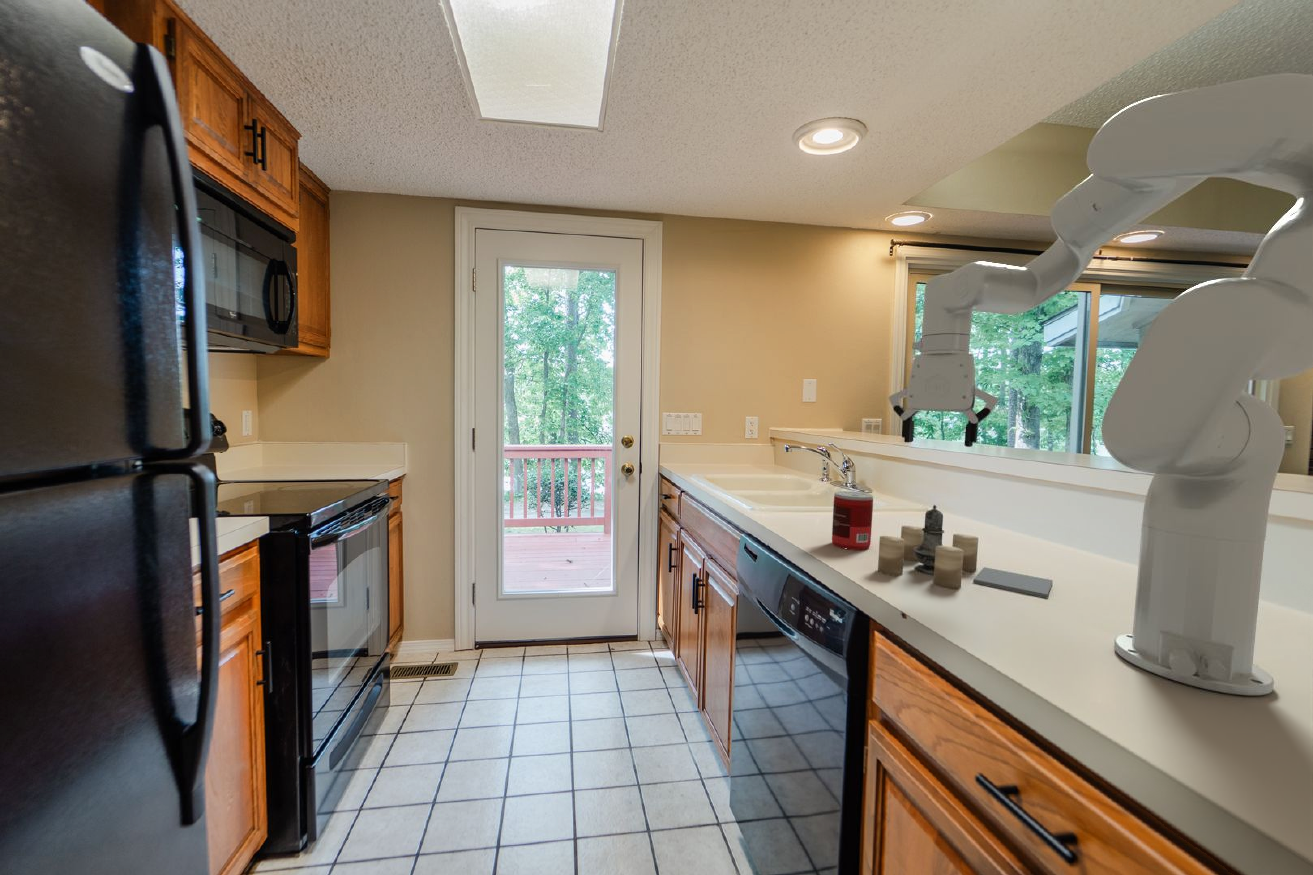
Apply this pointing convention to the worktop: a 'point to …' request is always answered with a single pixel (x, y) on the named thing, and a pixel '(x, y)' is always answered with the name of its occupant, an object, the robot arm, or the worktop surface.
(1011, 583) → the coaster
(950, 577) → the dowel front right
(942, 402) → the robot arm
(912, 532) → the dowel back left
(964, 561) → the dowel back right
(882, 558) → the dowel front left
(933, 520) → the salt shaker
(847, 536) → the canned food
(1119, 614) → the worktop surface
